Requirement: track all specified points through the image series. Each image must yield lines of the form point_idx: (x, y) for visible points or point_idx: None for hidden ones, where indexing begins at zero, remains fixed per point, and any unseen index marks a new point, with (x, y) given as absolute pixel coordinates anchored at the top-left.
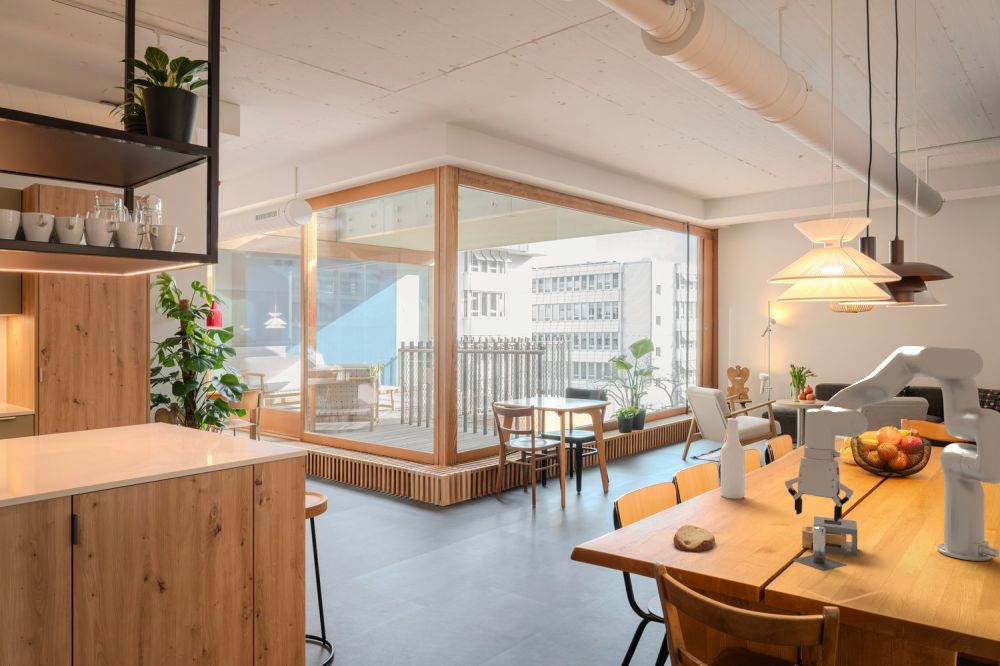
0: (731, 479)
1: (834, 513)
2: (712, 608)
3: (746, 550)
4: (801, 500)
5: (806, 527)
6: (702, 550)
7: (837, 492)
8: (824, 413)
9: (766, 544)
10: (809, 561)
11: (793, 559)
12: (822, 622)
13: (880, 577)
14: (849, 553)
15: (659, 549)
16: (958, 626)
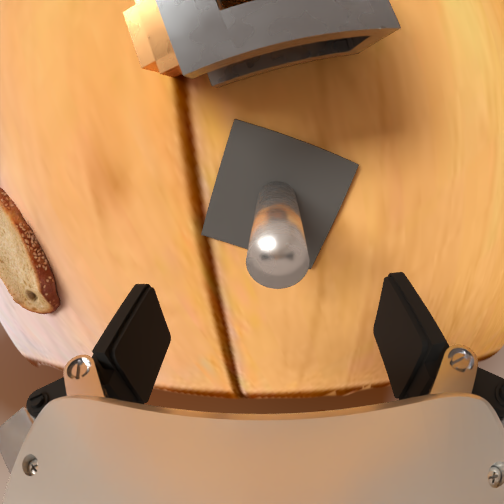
0: None
1: (385, 364)
2: None
3: (84, 227)
4: (126, 364)
5: (138, 11)
6: (56, 293)
7: (482, 411)
8: None
9: (82, 131)
10: (249, 212)
11: (204, 227)
12: None
13: (438, 206)
14: (337, 54)
15: (37, 322)
16: (487, 344)
